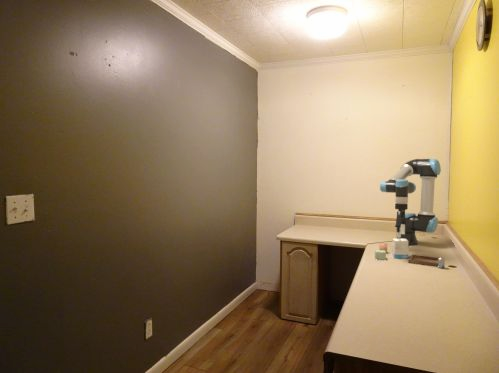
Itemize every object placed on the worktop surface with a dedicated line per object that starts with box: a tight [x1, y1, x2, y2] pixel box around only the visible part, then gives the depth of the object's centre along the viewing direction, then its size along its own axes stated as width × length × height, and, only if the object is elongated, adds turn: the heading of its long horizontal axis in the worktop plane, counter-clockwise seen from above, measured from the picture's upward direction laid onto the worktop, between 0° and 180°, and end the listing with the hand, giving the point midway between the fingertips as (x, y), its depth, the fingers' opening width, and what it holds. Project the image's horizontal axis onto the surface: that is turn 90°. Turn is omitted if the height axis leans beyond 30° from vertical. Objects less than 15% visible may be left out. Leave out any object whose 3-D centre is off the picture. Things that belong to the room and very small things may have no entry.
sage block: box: [374, 249, 387, 261], centre depth 231 cm, size 6×6×5 cm
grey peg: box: [437, 256, 446, 270], centre depth 210 cm, size 4×4×6 cm
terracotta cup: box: [379, 242, 388, 255], centre depth 246 cm, size 5×5×6 cm
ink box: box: [391, 237, 409, 260], centre depth 234 cm, size 9×8×13 cm
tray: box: [407, 254, 438, 268], centre depth 223 cm, size 15×16×2 cm
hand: (400, 235), depth 234 cm, fingers open, 13 cm apart
